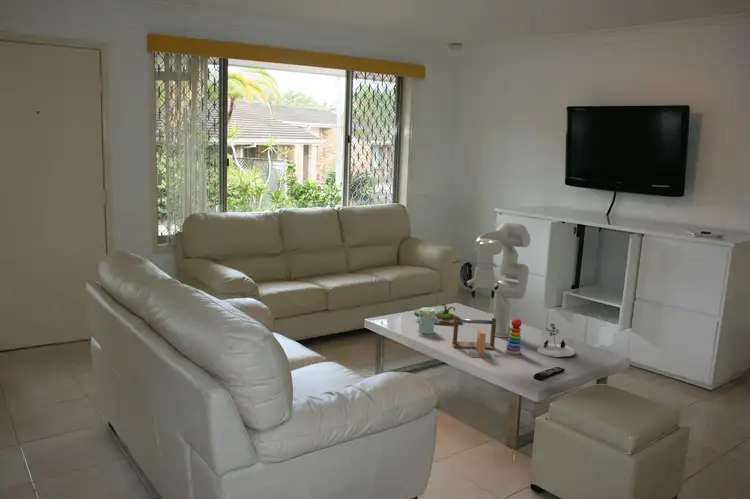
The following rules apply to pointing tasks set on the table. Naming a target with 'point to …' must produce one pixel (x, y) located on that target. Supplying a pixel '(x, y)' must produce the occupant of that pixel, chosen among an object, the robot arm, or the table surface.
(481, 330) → the tall peach block
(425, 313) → the character sculpture
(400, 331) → the table surface
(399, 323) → the table surface
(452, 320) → the plant
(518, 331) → the stacking toy
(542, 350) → the figurine
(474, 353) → the mat
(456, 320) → the rack
